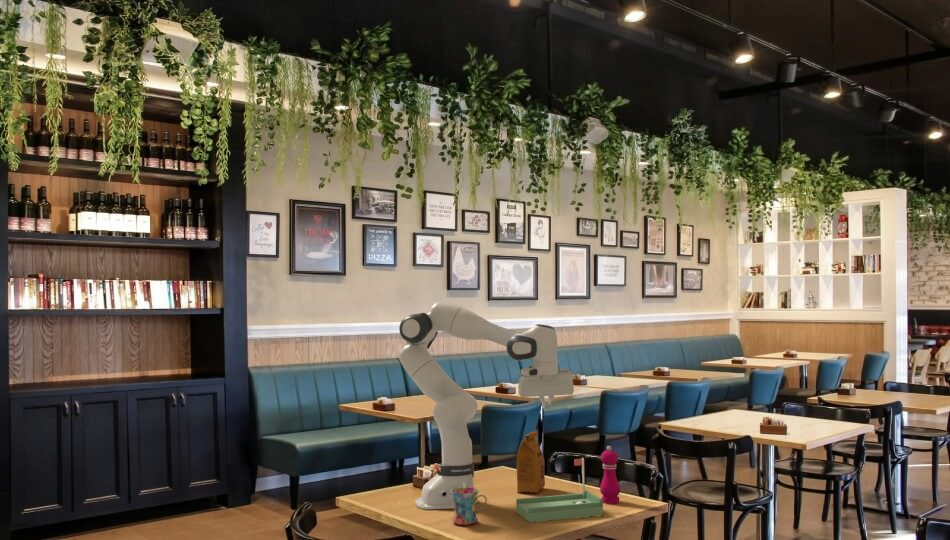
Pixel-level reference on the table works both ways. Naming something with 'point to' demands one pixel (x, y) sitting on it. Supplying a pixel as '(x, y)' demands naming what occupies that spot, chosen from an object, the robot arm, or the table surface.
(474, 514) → the mug
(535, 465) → the coffee package
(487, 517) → the table surface
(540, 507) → the green
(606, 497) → the pepper mill
